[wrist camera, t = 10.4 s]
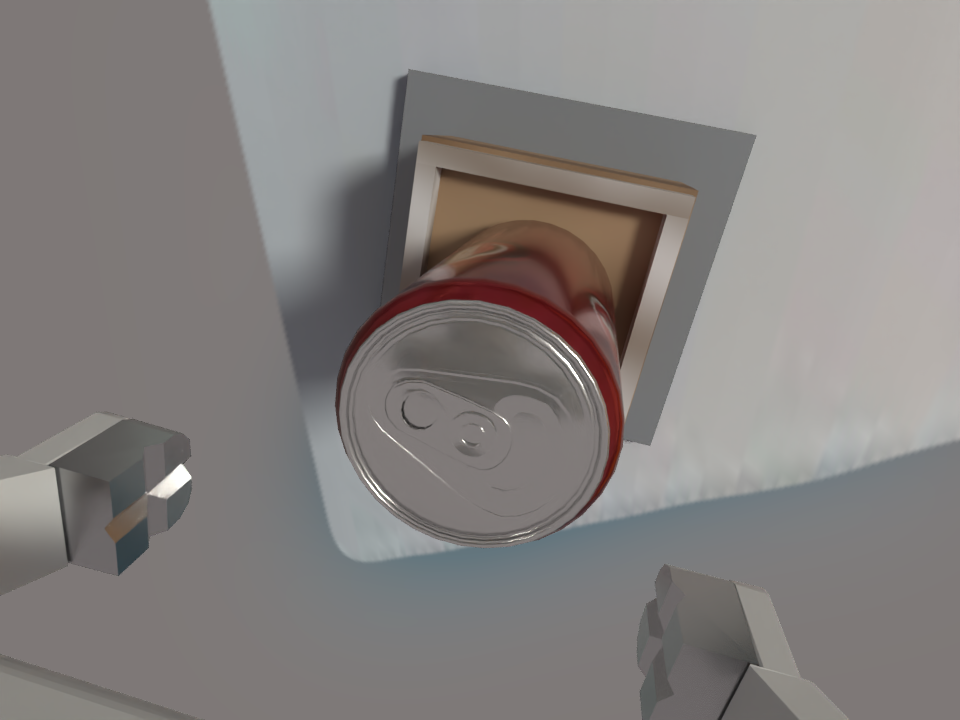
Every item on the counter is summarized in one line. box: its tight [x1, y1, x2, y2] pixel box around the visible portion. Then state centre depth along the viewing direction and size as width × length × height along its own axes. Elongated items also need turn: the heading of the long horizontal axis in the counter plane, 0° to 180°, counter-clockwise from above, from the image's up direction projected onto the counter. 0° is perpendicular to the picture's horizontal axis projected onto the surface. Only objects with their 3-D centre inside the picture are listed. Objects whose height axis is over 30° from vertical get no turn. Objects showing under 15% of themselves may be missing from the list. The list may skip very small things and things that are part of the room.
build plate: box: [380, 69, 756, 446], centre depth 30 cm, size 16×16×1 cm
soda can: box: [335, 220, 625, 548], centre depth 19 cm, size 7×7×12 cm
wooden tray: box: [399, 135, 698, 425], centre depth 26 cm, size 11×11×6 cm
